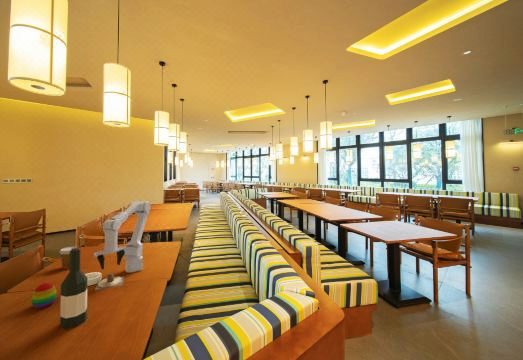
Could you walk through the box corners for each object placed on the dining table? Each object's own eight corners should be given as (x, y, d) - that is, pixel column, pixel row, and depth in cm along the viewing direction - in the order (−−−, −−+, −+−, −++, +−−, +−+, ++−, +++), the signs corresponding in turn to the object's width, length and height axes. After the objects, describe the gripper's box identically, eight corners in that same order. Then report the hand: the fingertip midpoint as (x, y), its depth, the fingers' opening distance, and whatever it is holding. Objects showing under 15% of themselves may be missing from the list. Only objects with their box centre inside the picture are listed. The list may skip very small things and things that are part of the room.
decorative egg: (44, 299, 105) (44, 278, 105) (61, 300, 105) (61, 279, 105) (25, 309, 97) (26, 287, 97) (43, 310, 97) (44, 287, 97)
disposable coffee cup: (67, 271, 137) (67, 251, 136) (54, 269, 138) (55, 250, 138) (82, 265, 146) (82, 247, 146) (70, 263, 148) (71, 245, 148)
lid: (122, 276, 129) (123, 269, 128) (121, 284, 119) (121, 276, 119) (99, 280, 123) (99, 272, 123) (96, 289, 114) (96, 280, 114)
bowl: (102, 277, 129) (102, 271, 128) (99, 285, 120) (99, 278, 120) (80, 281, 124) (80, 274, 124) (75, 289, 115) (75, 282, 115)
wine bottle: (70, 316, 93) (72, 245, 93) (91, 315, 94) (93, 245, 94) (54, 329, 85) (55, 251, 85) (77, 328, 86) (78, 251, 86)
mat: (124, 277, 129) (124, 276, 129) (122, 286, 119) (122, 285, 119) (98, 282, 124) (98, 280, 124) (94, 291, 113) (94, 290, 113)
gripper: (122, 237, 129) (122, 261, 129) (92, 243, 118) (92, 268, 118) (127, 240, 125) (127, 264, 125) (97, 245, 113) (96, 272, 113)
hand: (110, 266), depth 121 cm, fingers open, 7 cm apart
